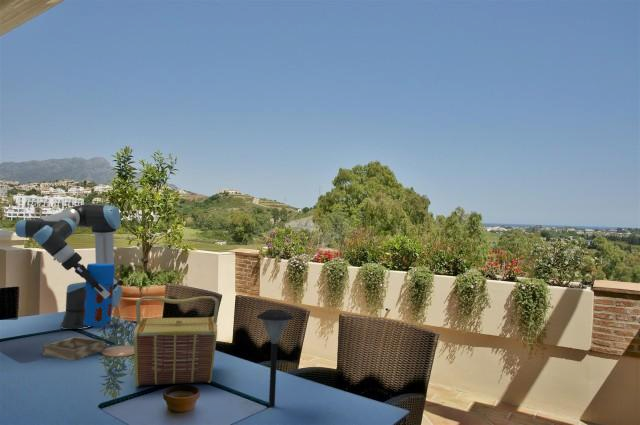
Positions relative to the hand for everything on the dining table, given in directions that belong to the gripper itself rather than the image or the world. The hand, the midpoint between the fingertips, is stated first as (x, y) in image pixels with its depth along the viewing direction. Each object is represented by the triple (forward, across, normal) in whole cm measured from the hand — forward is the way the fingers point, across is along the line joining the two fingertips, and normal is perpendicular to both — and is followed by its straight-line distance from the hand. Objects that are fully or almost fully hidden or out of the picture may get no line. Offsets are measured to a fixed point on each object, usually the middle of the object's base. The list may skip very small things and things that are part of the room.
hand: (106, 294), depth 199 cm
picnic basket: (+32, +45, -3) cm, 55 cm away
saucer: (+23, +1, -12) cm, 26 cm away
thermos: (+7, 0, -11) cm, 13 cm away
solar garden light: (+47, +83, +13) cm, 96 cm away
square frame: (+10, -4, -25) cm, 27 cm away
